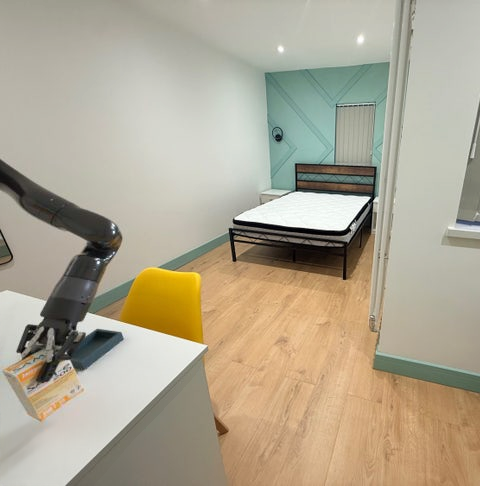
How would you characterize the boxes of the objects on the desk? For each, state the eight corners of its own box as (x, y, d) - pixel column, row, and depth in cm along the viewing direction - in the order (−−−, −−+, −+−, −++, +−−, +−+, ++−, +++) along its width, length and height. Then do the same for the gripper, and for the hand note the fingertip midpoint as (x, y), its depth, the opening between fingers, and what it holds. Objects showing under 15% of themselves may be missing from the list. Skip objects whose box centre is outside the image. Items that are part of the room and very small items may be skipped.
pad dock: (57, 365, 76) (53, 357, 75) (100, 335, 87) (97, 328, 86) (84, 370, 74) (81, 362, 73) (124, 339, 86) (121, 332, 85)
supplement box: (41, 423, 55) (13, 377, 50) (28, 415, 57) (-1, 370, 52) (85, 390, 62) (65, 347, 57) (72, 384, 64) (51, 342, 59)
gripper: (29, 291, 59) (-19, 375, 52) (81, 298, 56) (37, 387, 50) (63, 298, 65) (25, 373, 59) (111, 305, 63) (77, 383, 56)
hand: (31, 379), depth 54 cm, fingers closed on supplement box, 5 cm apart
